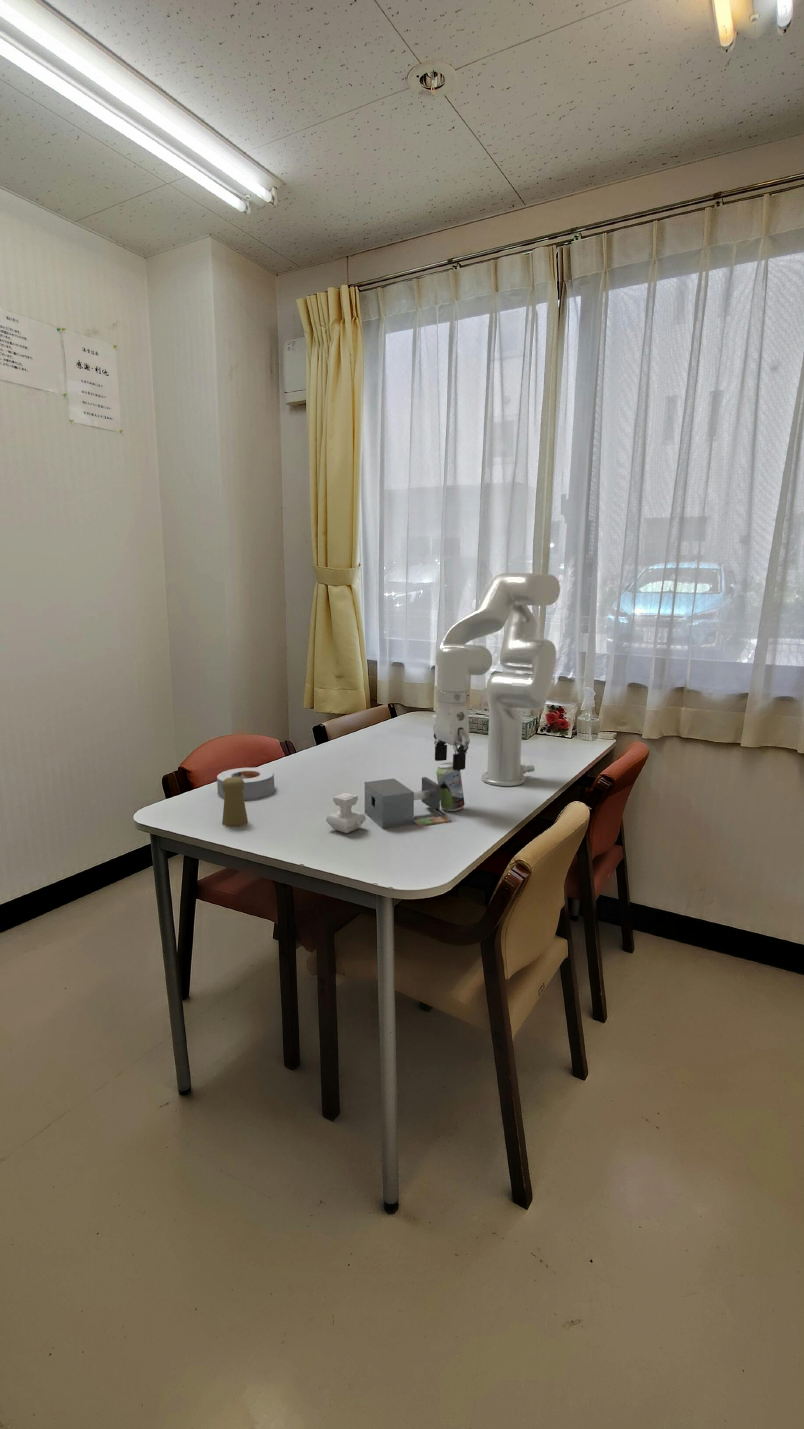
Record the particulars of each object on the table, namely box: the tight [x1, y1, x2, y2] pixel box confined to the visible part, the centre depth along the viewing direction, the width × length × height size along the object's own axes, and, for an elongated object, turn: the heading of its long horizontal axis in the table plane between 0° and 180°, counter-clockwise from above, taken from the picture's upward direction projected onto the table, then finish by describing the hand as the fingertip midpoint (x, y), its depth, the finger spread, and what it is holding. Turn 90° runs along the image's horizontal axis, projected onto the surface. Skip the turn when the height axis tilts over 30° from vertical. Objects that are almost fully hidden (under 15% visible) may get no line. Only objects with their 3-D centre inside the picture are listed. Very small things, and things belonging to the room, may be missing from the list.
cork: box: [222, 777, 249, 828], centre depth 157 cm, size 6×6×11 cm
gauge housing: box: [364, 778, 415, 830], centre depth 160 cm, size 8×12×8 cm, turn 24°
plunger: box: [413, 776, 446, 816], centre depth 161 cm, size 9×11×6 cm
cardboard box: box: [414, 815, 452, 827], centre depth 158 cm, size 8×3×1 cm, turn 114°
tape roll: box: [216, 767, 275, 801], centre depth 181 cm, size 15×15×5 cm
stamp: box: [325, 792, 367, 834], centre depth 153 cm, size 9×7×8 cm
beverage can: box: [435, 761, 466, 812], centre depth 166 cm, size 6×7×12 cm
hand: (449, 764), depth 165 cm, fingers open, 9 cm apart
